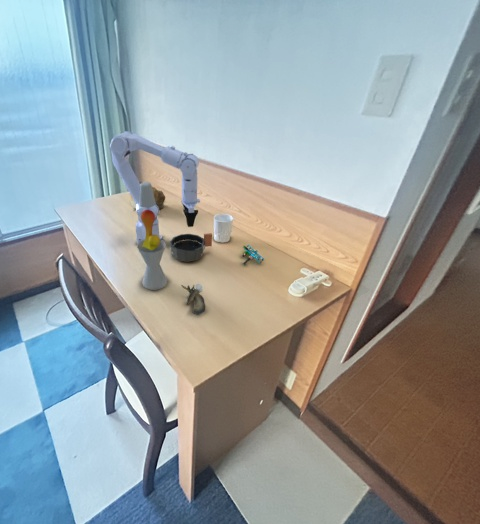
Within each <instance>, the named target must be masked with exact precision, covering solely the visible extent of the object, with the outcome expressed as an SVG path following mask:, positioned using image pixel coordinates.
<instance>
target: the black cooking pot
mask: <svg viewBox="0 0 480 524" xmlns="http://www.w3.org/2000/svg"><path fill="white" fill-rule="evenodd" d="M212 246H213V234H212V233H211V232H209V233H203V237H202V236H200V235H199V234H194V233H183V234H181V233H180V234H178V235H175V236H174V237H172V238H171V240H170V241H169V248H170V252H171V253H172V257H173V258H174V259H176V260H177V261H180V262H184V263H185V262H187V263H188V262H196V261H197V260H200V259H201V258H202V257H203V255H204V252H205V250H206V248H207V247H212Z"/></svg>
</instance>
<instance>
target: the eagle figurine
mask: <svg viewBox="0 0 480 524" xmlns="http://www.w3.org/2000/svg"><path fill="white" fill-rule="evenodd" d="M181 288H183V289H184V290H186V291H187V292H188V293H189V294H188V297H187V301H186V306H188V305H189V304H191V303H192V301H193V308H192V313H193V314H194V315H196V316H199V315H201V314H202V313H204V311H205V310H206V303H205V299H204V297H203V295H201V294H200V293H202V292H203V285H202V284H201V283H196V285H195V284H193V285H192V287H190V285H187V286H184V285H183V284H181Z"/></svg>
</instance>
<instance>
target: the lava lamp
mask: <svg viewBox="0 0 480 524" xmlns="http://www.w3.org/2000/svg"><path fill="white" fill-rule="evenodd" d="M152 187H153V186H152V183H151V182H149V181H143V182H141V184H140V198H139V206H141V207H146V208H147V207H152V206H155V205H156V202H155V198H154V194H153V190H152ZM141 220H142V222H143V224H144V226H145V229H146V238H145V240H143V241H141V242H139V243H138V244H136V245H137V246H136V248H137V250H138V252H139V253H140V255H141V258H142V260H143V261H144V263H145V264H146V266H145V270H144V275H143V279H142V286H143V287H144V288H145V289H146V290H150V291H151V290H152V291H155V290H157V291H158V290H160V289H163V288H165V287H166V286H167V284H168V279H167V277H166V274H165V273H164V270H163V269H162V266H161V261H162V258H163V254H164V252H165V250H166V249H165V248H166V242H165V241H164V240H162V239H159V237H158V236H157V235H153V234H152V227H153V223H154V220H155V214H154V213H153V212H152V211H151V210H145V211H143V212H142V214H141Z"/></svg>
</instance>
